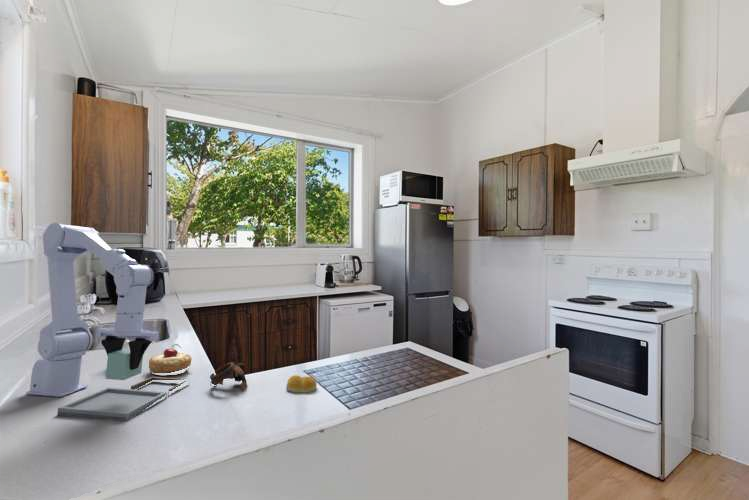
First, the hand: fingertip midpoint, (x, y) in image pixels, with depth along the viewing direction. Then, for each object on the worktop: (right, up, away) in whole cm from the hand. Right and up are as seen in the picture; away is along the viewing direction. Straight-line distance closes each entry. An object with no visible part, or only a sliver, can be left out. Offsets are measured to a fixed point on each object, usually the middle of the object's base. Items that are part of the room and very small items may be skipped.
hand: (124, 367), depth 87 cm
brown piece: (+20, -12, +16) cm, 28 cm away
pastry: (-4, -11, +26) cm, 29 cm away
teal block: (0, -2, 0) cm, 2 cm away
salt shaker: (-22, -9, +28) cm, 37 cm away
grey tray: (-1, -9, -2) cm, 9 cm away
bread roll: (+40, -13, +19) cm, 46 cm away
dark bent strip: (+2, -10, +11) cm, 15 cm away
